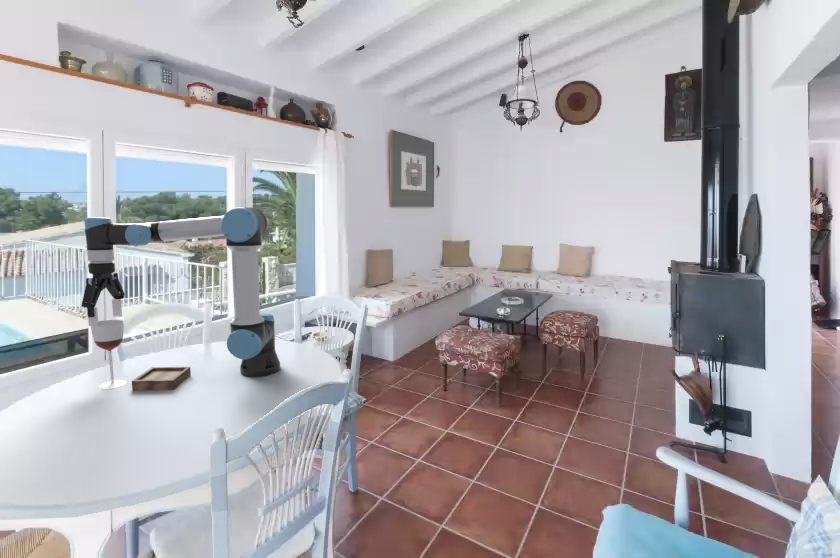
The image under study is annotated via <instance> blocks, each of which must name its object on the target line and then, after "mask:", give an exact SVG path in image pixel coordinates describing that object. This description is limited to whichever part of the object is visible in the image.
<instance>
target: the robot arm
mask: <svg viewBox="0 0 840 558" xmlns="http://www.w3.org/2000/svg"><path fill="white" fill-rule="evenodd" d="M267 228H268V219H267V217H266V214H264V213H263V211H261V210H259V209H258V208H256V207H247V206H246V207H244V206H239V207H238V206H237V207H234V208H231V209H229V210H228V211H226V212H225V213H224V214H223V215H218V216H207V217H206V216H205V217H196V218H186V219H175V220H165V221H164V220H163V221H155V222H152V221H151V222H144V223H143V222H138V223H137V222H136V223H114V222H112V219H111V218H110V217H104V216H102V217H99V216H98V217H97V216H93V217H90V216H89V217H86V218H85V219H84V233H85V241H86V242H85V243H86V255H87V261H88V265H87V266H88V267H87V269H88V273H89V274H91V275H92V277H86V278H85V289H84V292H83V296H82V301H81V307H82V308H84V309H85V308H86V310H87V311H86V312H87V317H88V318H87V320H88V327H91V326H99V323H98V321H99V314H98V307H97V303H98V300H99V297H100V295H101V293H102V292H103V291H104V290H105V289H106V290H107V291H108V292H109V295H110V296H111V297H112V299H111V305H112V306H111V307H112V316H113V317H116V318H117V317H118V318H121V317H123V312H122V299H124V298H125V291H124V289H123V286H122V284H121V281H120V279H119V274H118V272H116V266H115V262H114V261H115V254H114V253H115V252H114V246H134V247H138V246H142V247H143V246H146V245H148V244H153V243H164V242H173V241H174V242H175V241H184V240H193V239H205V238H215V237H216V238H217V237H225V240H226V242H225V243H226V247H227V248H228V249H229V250H230V251H231V267H232V269H231V271H232V288H233V289H232V293H233V310H234V311H233V313H234V316H233V318H232V319H231V320H229V321H230V322H229V325H230V334H229V335H228V336H227V339H226V348H227V350H228V352H229V353H230V354H231V355H232V356H233V357H234V358H236V359H240V360H241V363H240V366H239V369H240V371H239V372H240V373H241V375H243V376H246V377H265V376H268V375H269V376H270V375H272V374H276V373H277V372H279V371H280V370H281V362H280V360H279V357H278V354H277V351H276V341H275V340H276V337H275V336H276V335H275V332H276V331H275V317H274V314H271V313H261V311H260V288H259V287H260V285H259V284H260V282H259V281H260V280H259V260H258V256H259V255H258V250H259V249H260V248H261V247H262V242H263V240H262V236H263V235H264V234H265V233H266V231H267Z"/></svg>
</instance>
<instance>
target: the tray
mask: <svg viewBox="0 0 840 558" xmlns="http://www.w3.org/2000/svg"><path fill="white" fill-rule="evenodd" d="M191 373H192V371H191V366H152V367H150V368H149V369H147V370H146V371H144V372H142V374H140V375H138V376H137V377H136V378H134V379H133V380H131V388H132V389H131V391H174V390H176V389H177V388H178V387H179V386H180V385H181V384H183V383H184V382H185V381H187V379H189V378H190V377H191V376H192V374H191Z"/></svg>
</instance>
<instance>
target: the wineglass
mask: <svg viewBox="0 0 840 558" xmlns="http://www.w3.org/2000/svg"><path fill="white" fill-rule="evenodd" d="M98 323H99V326H90V331H91V335H92V338H93V341H94V344H95V345H96V346H97V347H99V348H100V349H103V350H106V351H107V352H108V362H109V372H110V374H109V375H110V381H106V382H103V383H100V384H99V385H98V388H99V389H100V390H111V389H115V388H119V387H122V386H125V385H126V384H127V383H128V380H124V379H115V376H114V375H115V374H114V368H113V366H114V365H113V355H112V350H115V348H117V347H119V346H120V345H121V344H122V342H123V339H124V327H125V324H124V323H125V322H124V321H123V320H122V319H108V320H105V319H104V320H98Z"/></svg>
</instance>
